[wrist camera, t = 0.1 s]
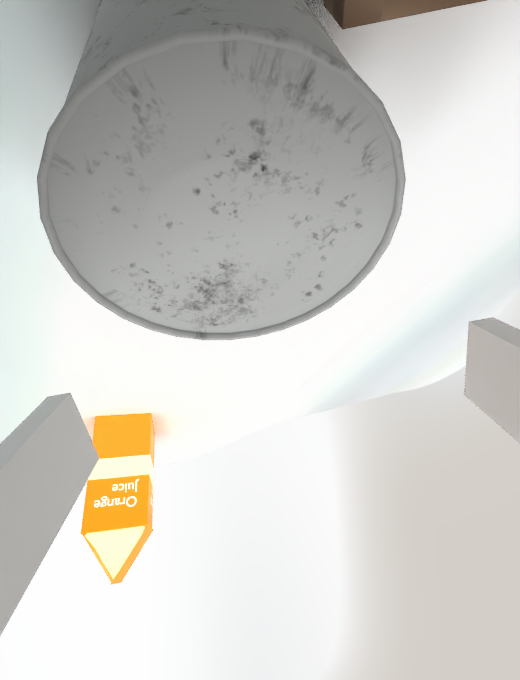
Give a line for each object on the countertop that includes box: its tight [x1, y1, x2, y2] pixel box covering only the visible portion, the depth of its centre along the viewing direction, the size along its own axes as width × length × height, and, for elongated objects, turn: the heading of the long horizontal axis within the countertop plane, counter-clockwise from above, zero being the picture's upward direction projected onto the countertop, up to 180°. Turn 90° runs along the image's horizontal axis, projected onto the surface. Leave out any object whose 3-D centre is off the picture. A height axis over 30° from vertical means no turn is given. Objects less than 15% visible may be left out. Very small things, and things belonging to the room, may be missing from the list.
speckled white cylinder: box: [37, 0, 406, 340], centre depth 13 cm, size 10×10×12 cm
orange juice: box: [81, 413, 155, 584], centre depth 47 cm, size 8×9×20 cm
